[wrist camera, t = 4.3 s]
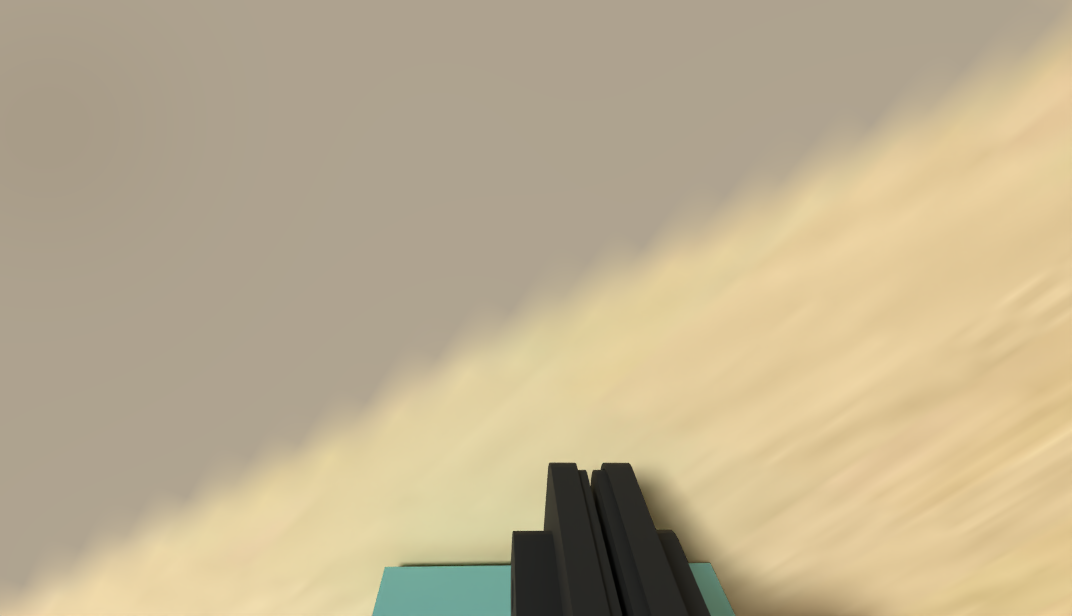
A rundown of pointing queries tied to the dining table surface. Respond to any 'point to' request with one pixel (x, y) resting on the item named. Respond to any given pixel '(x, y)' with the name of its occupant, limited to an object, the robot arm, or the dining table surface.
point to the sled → (487, 591)
